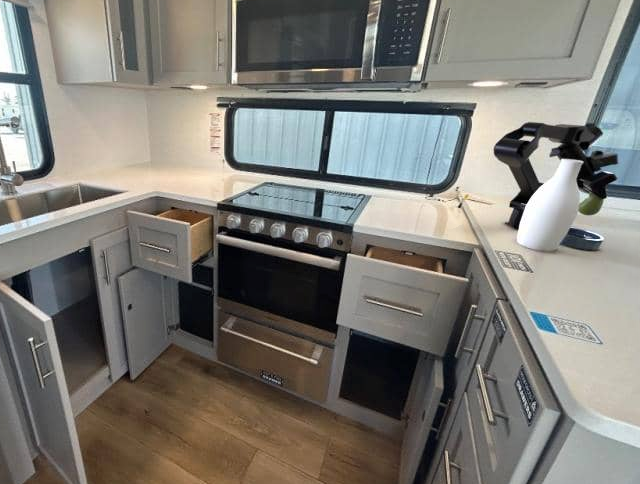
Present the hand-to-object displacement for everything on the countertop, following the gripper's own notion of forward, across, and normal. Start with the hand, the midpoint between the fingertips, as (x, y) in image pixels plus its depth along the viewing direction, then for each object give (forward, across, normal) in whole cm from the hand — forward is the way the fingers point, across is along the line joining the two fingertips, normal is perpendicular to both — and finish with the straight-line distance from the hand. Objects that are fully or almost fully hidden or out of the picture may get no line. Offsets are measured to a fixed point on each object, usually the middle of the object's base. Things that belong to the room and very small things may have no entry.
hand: (599, 196), depth 108 cm
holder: (+2, -16, +16) cm, 22 cm away
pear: (+4, 0, +6) cm, 7 cm away
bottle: (-7, -24, +25) cm, 35 cm away
